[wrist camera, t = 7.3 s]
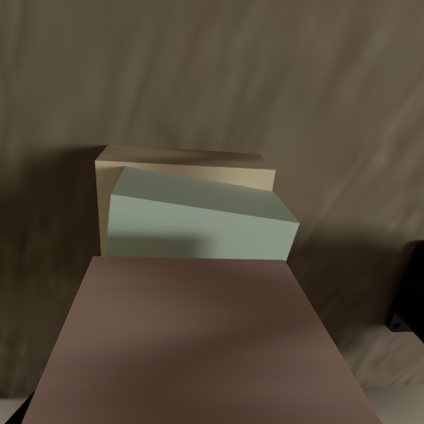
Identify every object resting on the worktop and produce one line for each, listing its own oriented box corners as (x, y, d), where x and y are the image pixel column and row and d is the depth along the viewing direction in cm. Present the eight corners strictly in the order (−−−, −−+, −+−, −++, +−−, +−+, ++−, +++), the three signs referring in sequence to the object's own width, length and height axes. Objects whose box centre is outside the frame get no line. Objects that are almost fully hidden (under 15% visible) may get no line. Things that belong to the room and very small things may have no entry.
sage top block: (273, 191, 13) (299, 223, 10) (238, 305, 15) (252, 355, 13) (125, 165, 12) (111, 194, 9) (111, 292, 14) (96, 345, 11)
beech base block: (257, 152, 15) (275, 169, 13) (239, 271, 18) (251, 306, 15) (109, 143, 14) (95, 160, 12) (115, 271, 17) (104, 308, 14)
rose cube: (284, 259, 9) (412, 474, 4) (256, 386, 10) (320, 625, 6) (93, 256, 8) (-18, 512, 3) (101, 392, 10) (41, 669, 5)
